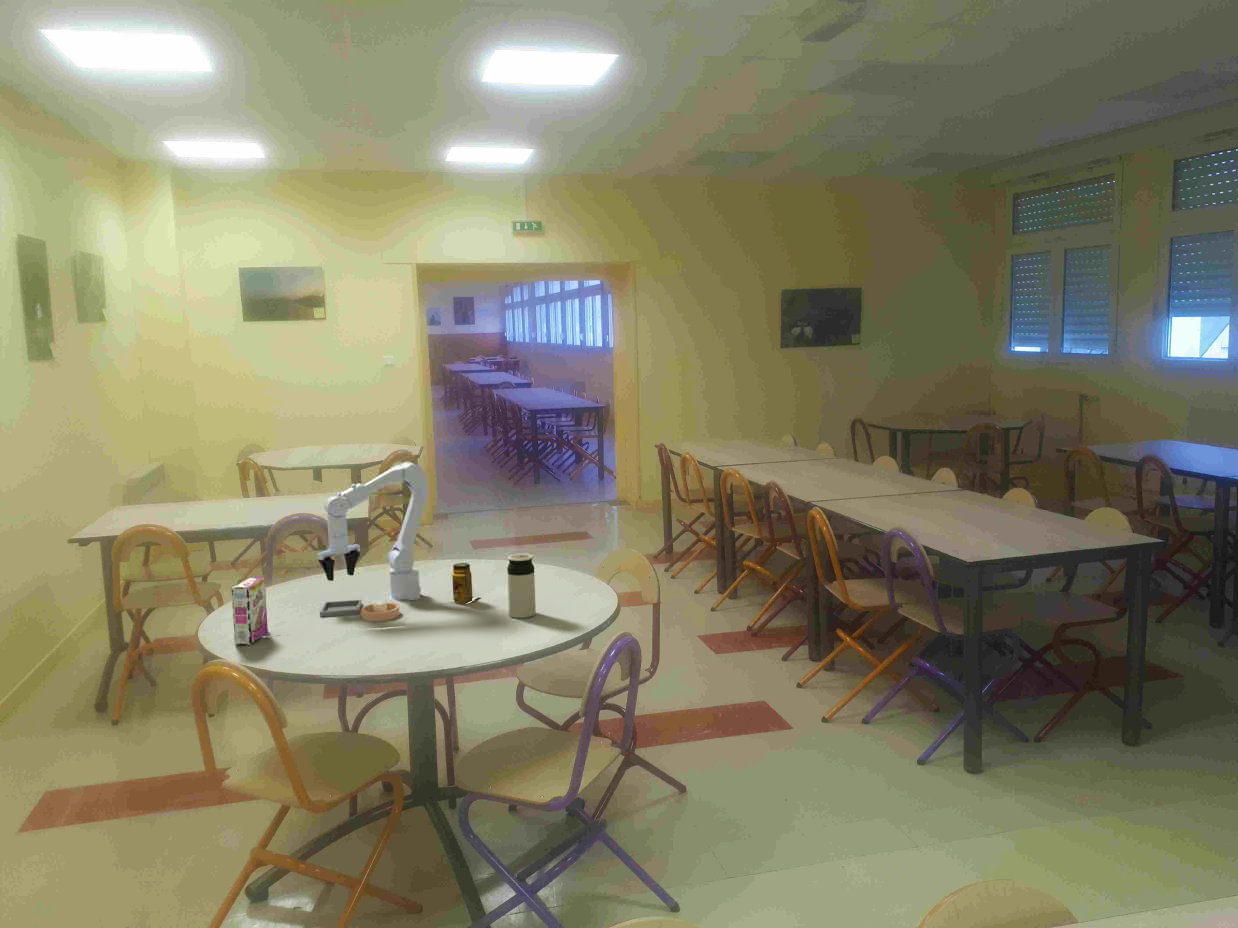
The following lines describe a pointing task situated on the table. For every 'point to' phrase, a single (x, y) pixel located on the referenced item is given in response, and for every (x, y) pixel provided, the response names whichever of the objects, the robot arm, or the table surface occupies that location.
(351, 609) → the tray
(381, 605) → the cream round lump
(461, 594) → the condiment
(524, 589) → the travel mug
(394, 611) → the bowl
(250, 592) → the candy bar box
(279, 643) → the table surface
